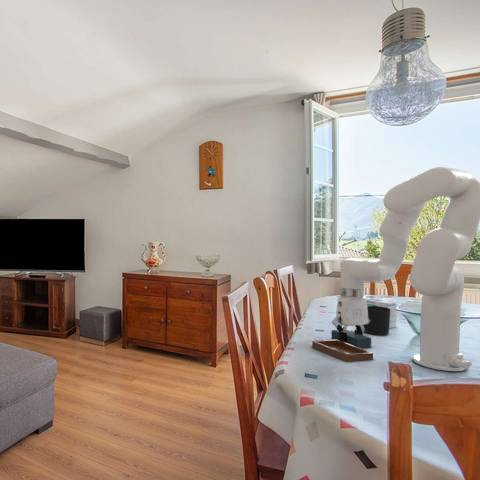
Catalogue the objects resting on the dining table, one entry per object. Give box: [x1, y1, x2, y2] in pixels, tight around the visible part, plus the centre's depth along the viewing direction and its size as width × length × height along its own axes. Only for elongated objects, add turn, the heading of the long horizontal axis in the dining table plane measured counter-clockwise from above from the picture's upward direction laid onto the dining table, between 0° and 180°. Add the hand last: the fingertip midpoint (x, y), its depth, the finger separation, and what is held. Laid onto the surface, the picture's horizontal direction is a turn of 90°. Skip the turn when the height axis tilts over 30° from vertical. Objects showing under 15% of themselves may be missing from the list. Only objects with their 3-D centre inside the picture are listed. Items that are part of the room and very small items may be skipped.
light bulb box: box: [366, 297, 398, 329], centre depth 173 cm, size 11×7×11 cm, turn 25°
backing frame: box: [311, 339, 374, 363], centre depth 135 cm, size 16×10×2 cm, turn 13°
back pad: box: [331, 329, 372, 349], centre depth 146 cm, size 12×6×4 cm, turn 13°
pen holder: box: [363, 306, 390, 336], centre depth 160 cm, size 9×9×10 cm
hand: (350, 341), depth 146 cm, fingers closed on back pad, 6 cm apart
